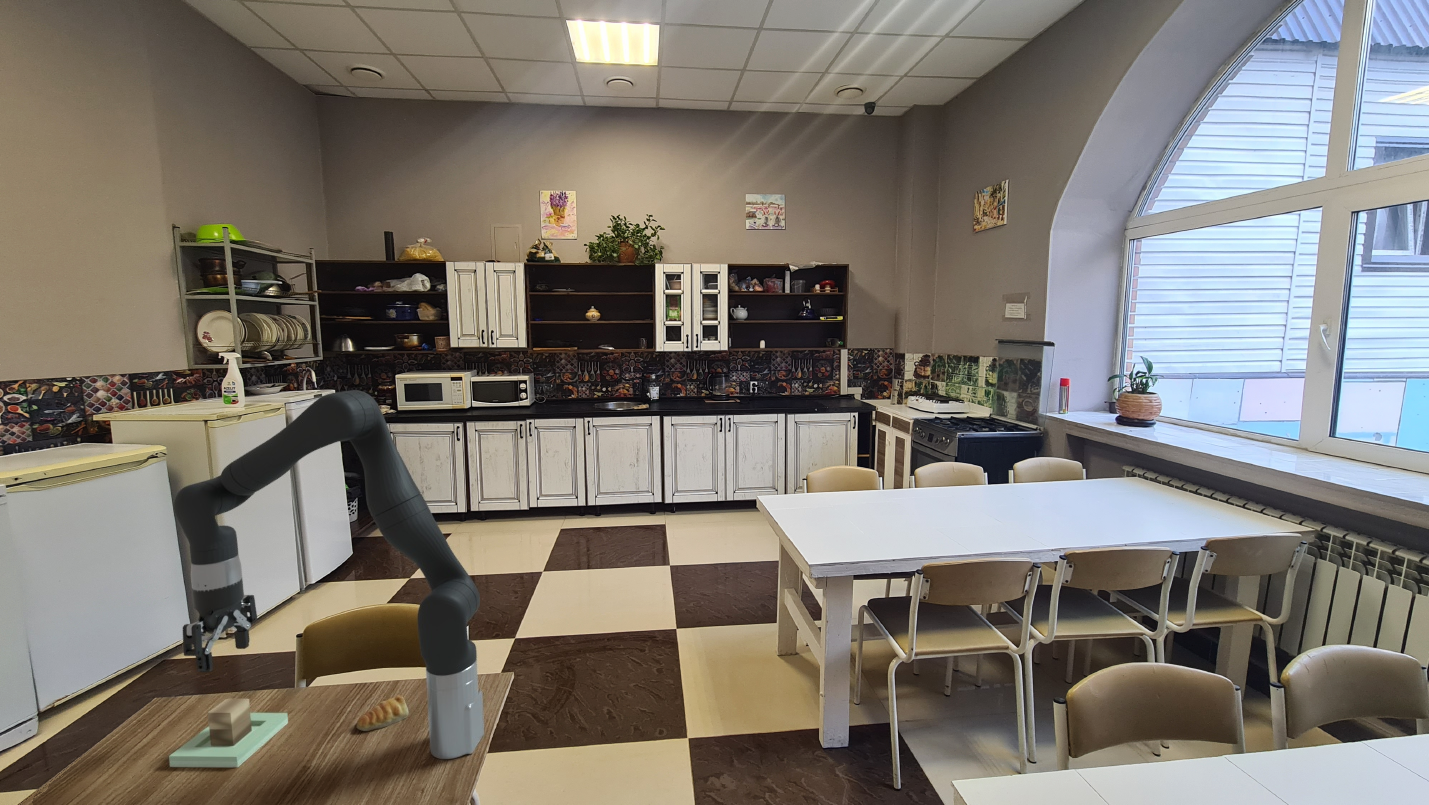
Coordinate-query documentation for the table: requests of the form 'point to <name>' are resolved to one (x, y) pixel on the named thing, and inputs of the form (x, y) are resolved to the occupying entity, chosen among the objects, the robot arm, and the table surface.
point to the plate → (206, 755)
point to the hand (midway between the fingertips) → (225, 659)
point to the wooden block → (229, 722)
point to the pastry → (383, 714)
